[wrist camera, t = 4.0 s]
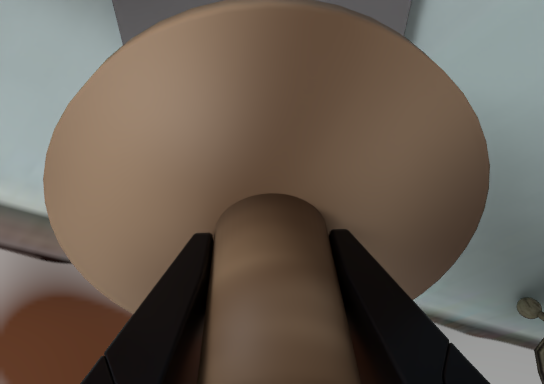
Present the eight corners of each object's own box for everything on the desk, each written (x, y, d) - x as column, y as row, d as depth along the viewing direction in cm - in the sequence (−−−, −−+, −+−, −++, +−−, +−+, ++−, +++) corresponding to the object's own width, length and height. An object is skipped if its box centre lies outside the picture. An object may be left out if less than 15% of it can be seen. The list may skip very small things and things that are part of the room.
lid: (547, -10, 7) (942, 118, 3) (414, 311, 13) (480, 483, 9) (-28, 1, 7) (-442, 158, 3) (125, 323, 13) (71, 504, 9)
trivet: (424, -89, 14) (431, -89, 13) (369, 173, 21) (372, 179, 21) (95, -90, 13) (90, -89, 13) (159, 177, 21) (157, 184, 20)
